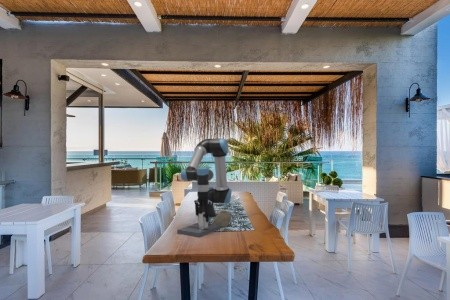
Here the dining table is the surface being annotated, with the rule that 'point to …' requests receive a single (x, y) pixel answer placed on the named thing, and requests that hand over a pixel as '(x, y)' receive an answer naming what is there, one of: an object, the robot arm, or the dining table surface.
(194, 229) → the console
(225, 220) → the fossil tooth
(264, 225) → the dining table surface
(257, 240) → the dining table surface
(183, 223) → the dining table surface
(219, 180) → the robot arm
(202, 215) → the fader
